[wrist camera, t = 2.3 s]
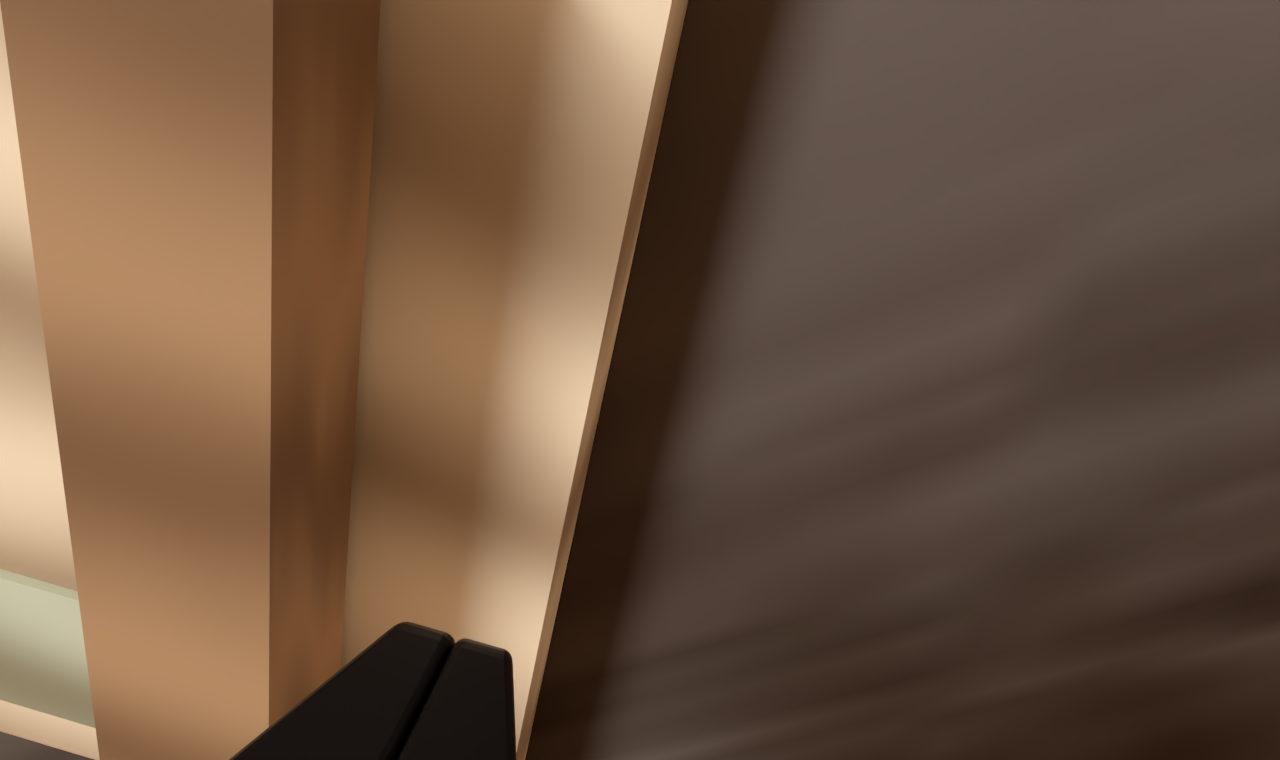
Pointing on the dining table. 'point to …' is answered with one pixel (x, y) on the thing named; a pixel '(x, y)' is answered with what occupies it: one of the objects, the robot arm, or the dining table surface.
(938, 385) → the dining table surface
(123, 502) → the stool leg
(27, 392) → the stool board
